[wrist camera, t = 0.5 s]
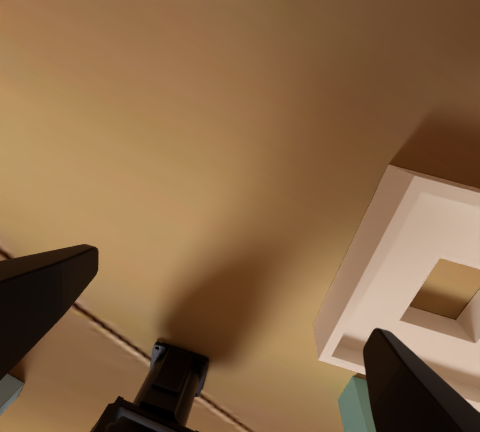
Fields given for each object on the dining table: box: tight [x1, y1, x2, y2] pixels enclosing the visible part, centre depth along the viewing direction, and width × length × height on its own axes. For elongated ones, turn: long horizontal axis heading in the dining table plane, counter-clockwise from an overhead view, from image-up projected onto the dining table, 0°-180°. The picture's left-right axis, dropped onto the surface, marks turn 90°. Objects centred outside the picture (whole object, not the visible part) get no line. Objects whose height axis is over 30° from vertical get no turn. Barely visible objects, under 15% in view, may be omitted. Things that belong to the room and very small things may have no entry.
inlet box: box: [313, 164, 480, 411], centre depth 19 cm, size 16×16×4 cm
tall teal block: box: [338, 376, 376, 432], centre depth 24 cm, size 4×4×7 cm
